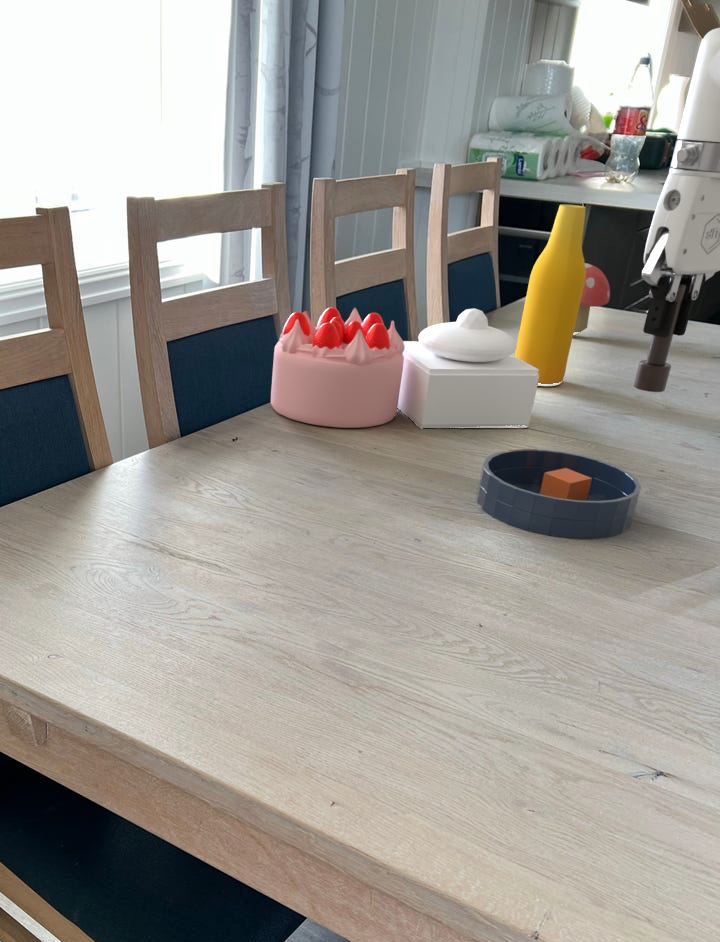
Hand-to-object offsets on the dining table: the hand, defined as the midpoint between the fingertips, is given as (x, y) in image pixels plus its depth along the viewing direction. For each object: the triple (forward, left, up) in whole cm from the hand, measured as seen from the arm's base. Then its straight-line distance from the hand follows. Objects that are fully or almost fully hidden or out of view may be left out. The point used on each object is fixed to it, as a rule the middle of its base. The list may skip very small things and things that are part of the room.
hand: (663, 332), depth 115 cm
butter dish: (+37, -7, -21) cm, 43 cm away
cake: (+45, +11, -21) cm, 51 cm away
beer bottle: (+45, -36, -21) cm, 61 cm away
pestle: (0, 0, -7) cm, 7 cm away
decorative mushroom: (+69, -74, -21) cm, 103 cm away
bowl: (0, +13, -21) cm, 24 cm away
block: (0, +11, -20) cm, 23 cm away
